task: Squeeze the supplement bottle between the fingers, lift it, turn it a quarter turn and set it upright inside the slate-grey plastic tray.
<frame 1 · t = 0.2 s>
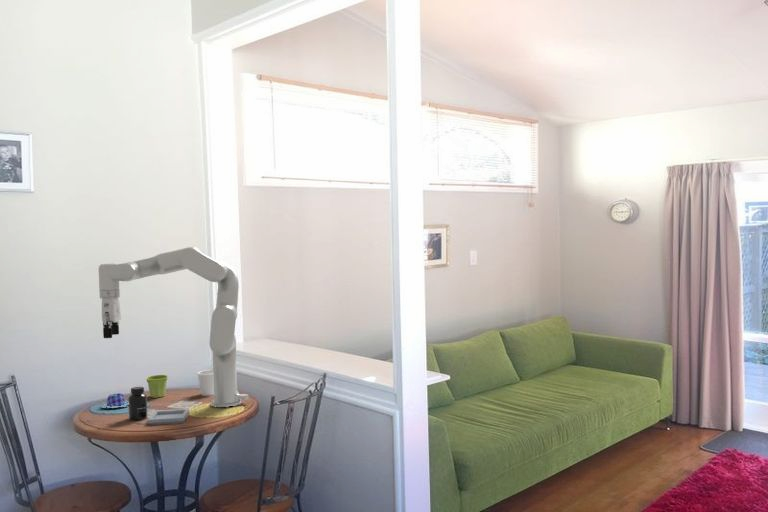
hand: (111, 336, 271), 31 cm above the table, tool pointing down, fingers open, 9 cm apart
supplement bottle: (138, 418, 261), on the table
tray: (169, 419, 258), on the table
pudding: (116, 407, 281), on the table
plant pot: (157, 396, 296), on the table
dixie cup: (207, 394, 297), on the table
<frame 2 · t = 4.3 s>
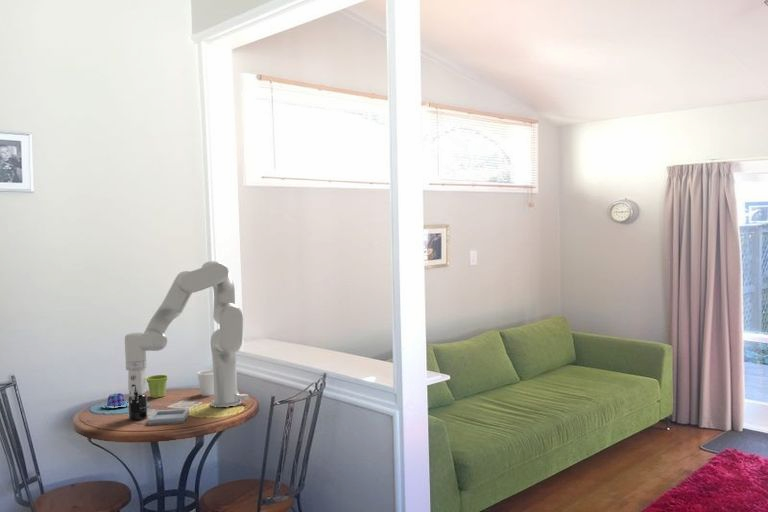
hand: (137, 410, 260), 3 cm above the table, tool pointing down, fingers closed on supplement bottle, 6 cm apart
supplement bottle: (138, 418, 260), on the table, touching gripper
everything else where it was.
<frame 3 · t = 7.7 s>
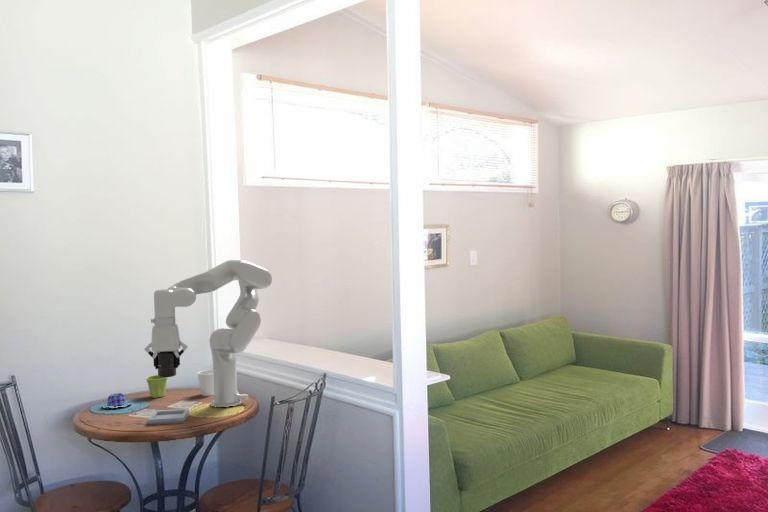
hand: (167, 367, 257), 20 cm above the table, tool pointing down, fingers closed on supplement bottle, 6 cm apart
supplement bottle: (167, 376, 257), point 17 cm above the table, touching gripper
everything else where it was.
when the fingers open (6 cm above the table, at t = 11.1 s): supplement bottle drops 2 cm, resting on tray.
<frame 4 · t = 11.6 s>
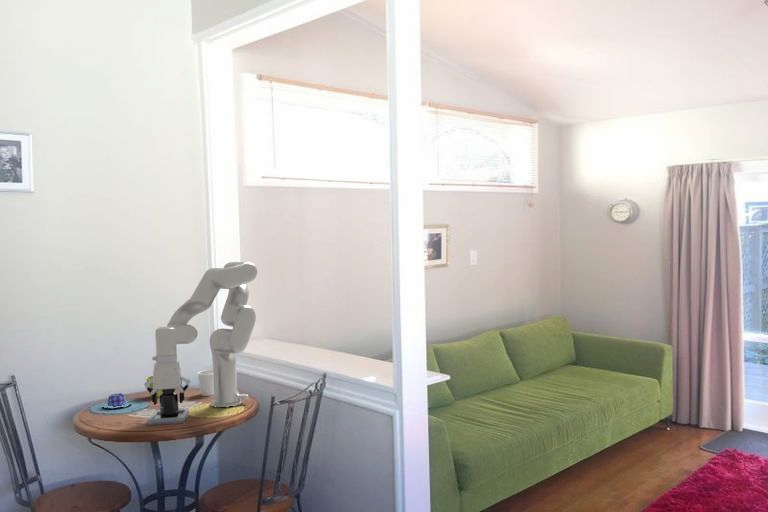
hand: (168, 403, 257), 6 cm above the table, tool pointing down, fingers open, 9 cm apart
supplement bottle: (169, 417, 258), point 1 cm above the table, touching tray
everything else where it was.
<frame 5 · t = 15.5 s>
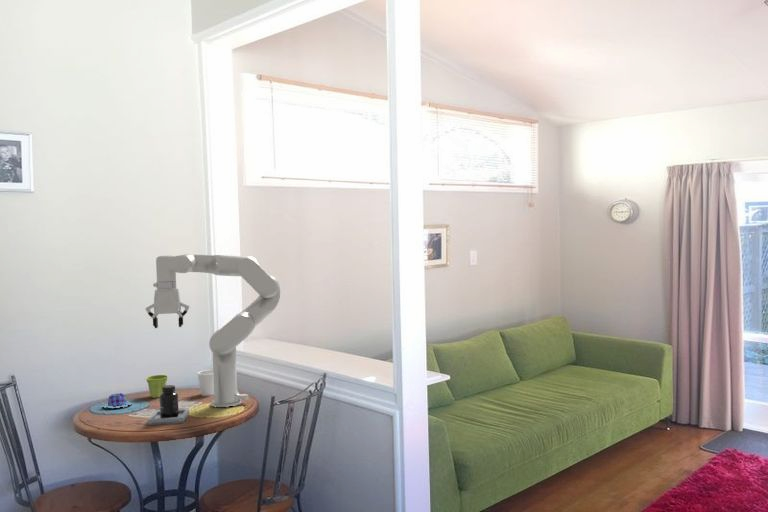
hand: (168, 327, 275), 33 cm above the table, tool pointing down, fingers open, 9 cm apart
at the end: supplement bottle 0.3 cm off-centre on the tray, point 0.6 cm above the tray's base; supplement bottle tilted 0°; the gripper is holding nothing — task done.
